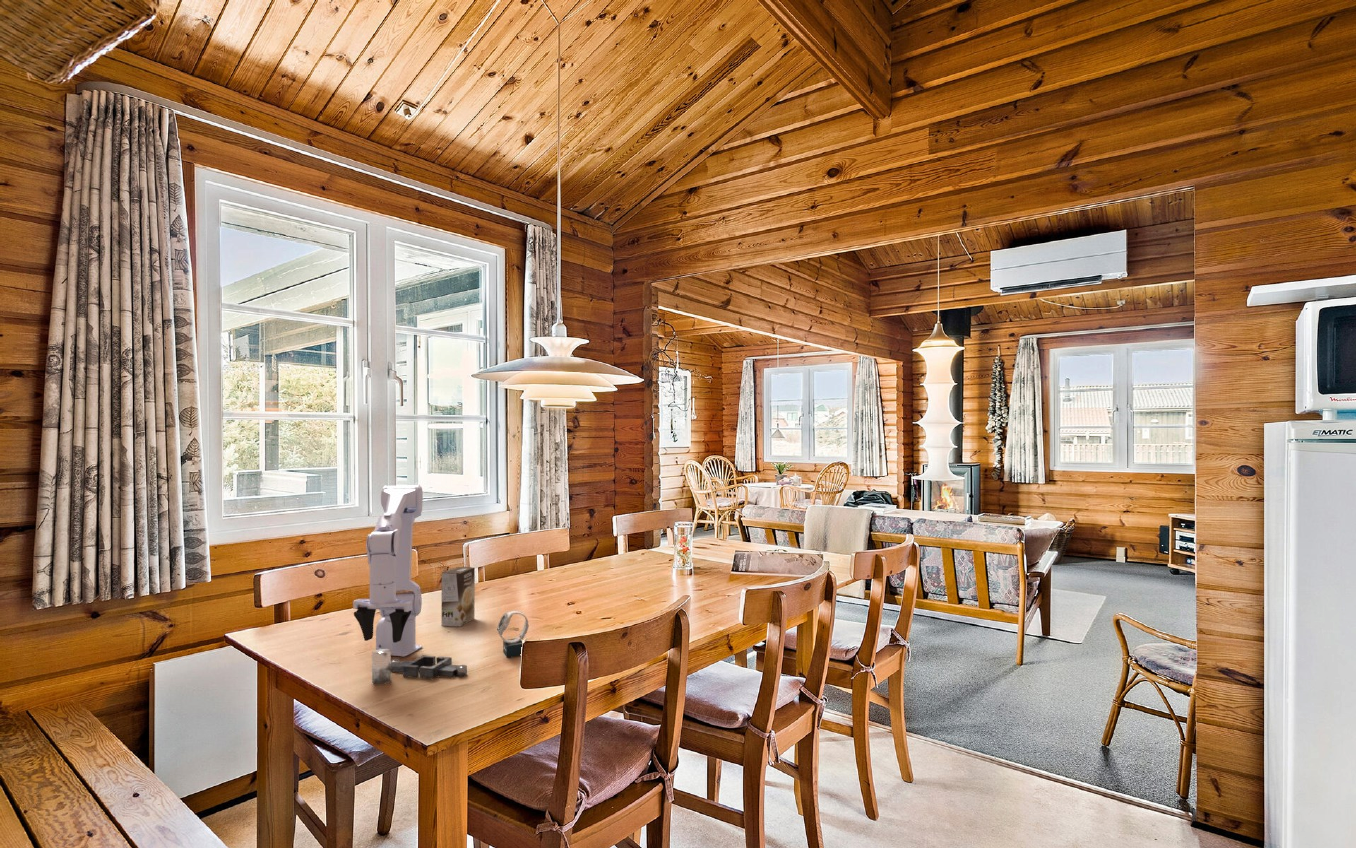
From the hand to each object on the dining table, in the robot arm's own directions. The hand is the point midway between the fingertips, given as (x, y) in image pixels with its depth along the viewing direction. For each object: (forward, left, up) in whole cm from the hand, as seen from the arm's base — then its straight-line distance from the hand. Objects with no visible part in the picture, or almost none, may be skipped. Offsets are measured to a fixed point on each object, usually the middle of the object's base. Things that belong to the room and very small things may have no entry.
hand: (382, 640), depth 162 cm
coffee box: (-9, +48, -10) cm, 50 cm away
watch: (+21, +25, -10) cm, 34 cm away
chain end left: (+1, +8, -10) cm, 12 cm away
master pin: (0, 0, -10) cm, 10 cm away
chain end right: (+12, +8, -10) cm, 17 cm away
